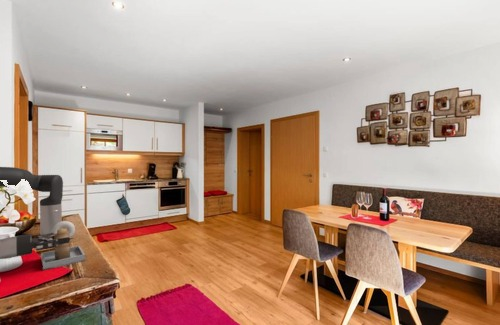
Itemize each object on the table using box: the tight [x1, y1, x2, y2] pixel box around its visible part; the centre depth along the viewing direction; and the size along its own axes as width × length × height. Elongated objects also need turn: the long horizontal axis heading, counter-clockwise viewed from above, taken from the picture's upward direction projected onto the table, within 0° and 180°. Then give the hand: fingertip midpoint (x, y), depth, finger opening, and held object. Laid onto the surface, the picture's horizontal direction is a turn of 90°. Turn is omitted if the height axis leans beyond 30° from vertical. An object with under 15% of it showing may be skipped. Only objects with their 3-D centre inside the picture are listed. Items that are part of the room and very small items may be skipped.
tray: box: [40, 245, 86, 271], centre depth 104 cm, size 14×13×2 cm
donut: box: [51, 220, 76, 238], centre depth 129 cm, size 10×4×10 cm, turn 130°
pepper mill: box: [54, 228, 71, 261], centre depth 104 cm, size 5×5×12 cm
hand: (68, 237), depth 106 cm, fingers open, 8 cm apart
